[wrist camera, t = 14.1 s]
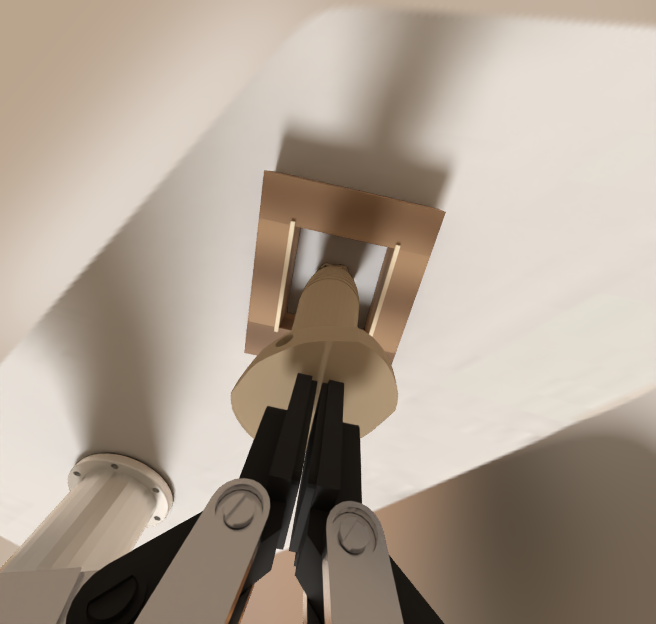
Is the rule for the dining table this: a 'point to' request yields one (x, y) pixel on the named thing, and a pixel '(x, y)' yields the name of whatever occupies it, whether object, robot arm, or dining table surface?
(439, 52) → the dining table surface
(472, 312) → the dining table surface
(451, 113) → the dining table surface
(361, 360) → the handle
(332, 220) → the wooden frame
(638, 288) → the dining table surface
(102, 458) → the robot arm
